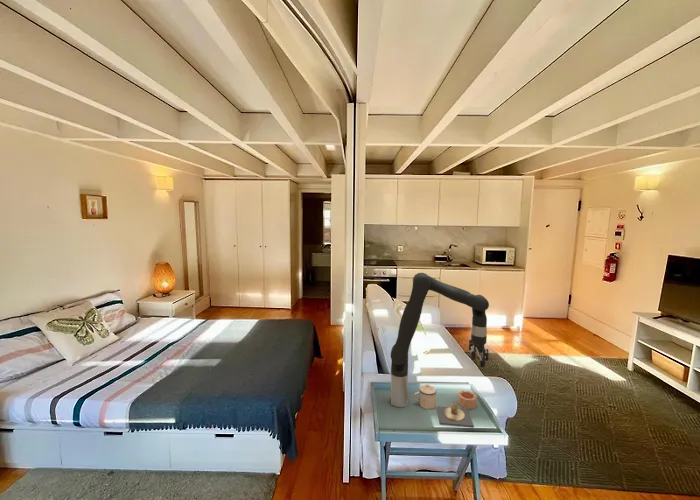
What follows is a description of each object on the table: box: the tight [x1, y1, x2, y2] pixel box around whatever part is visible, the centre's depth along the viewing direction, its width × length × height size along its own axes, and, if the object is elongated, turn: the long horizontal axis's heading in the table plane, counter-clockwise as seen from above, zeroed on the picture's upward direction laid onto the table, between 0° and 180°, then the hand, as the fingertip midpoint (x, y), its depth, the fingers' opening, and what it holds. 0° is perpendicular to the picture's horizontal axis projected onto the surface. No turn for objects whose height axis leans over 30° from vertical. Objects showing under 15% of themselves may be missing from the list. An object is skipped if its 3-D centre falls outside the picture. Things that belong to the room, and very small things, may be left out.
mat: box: [436, 405, 475, 428], centre depth 158 cm, size 16×14×1 cm
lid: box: [444, 401, 465, 422], centre depth 158 cm, size 10×10×6 cm
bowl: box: [457, 390, 478, 410], centre depth 169 cm, size 9×9×5 cm
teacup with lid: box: [413, 383, 437, 410], centre depth 169 cm, size 12×9×12 cm
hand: (477, 363), depth 162 cm, fingers open, 8 cm apart
